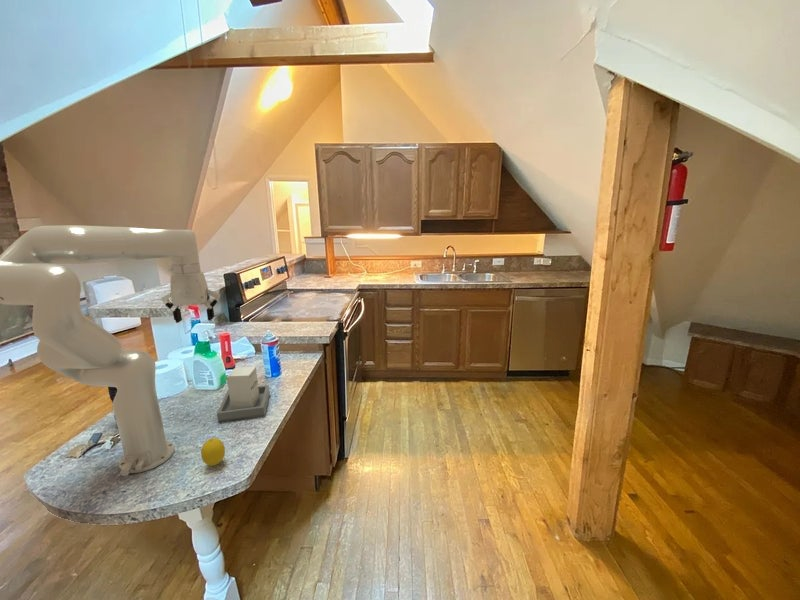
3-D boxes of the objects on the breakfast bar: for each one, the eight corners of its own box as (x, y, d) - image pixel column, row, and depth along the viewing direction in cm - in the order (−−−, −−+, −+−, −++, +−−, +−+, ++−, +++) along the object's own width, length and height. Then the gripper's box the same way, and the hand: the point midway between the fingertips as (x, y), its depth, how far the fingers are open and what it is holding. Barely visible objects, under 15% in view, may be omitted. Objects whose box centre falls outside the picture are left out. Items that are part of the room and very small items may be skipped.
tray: (264, 416, 118) (263, 407, 117) (218, 423, 115) (216, 413, 114) (269, 393, 133) (268, 384, 132) (229, 398, 130) (227, 389, 129)
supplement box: (253, 410, 120) (248, 375, 117) (230, 411, 120) (225, 376, 117) (260, 398, 127) (256, 366, 124) (239, 399, 127) (234, 366, 124)
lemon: (201, 474, 92) (196, 447, 90) (206, 460, 98) (201, 434, 96) (225, 469, 94) (220, 443, 92) (228, 456, 99) (224, 430, 97)
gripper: (151, 272, 109) (161, 326, 113) (212, 269, 112) (219, 322, 116) (162, 268, 116) (171, 319, 120) (219, 266, 119) (226, 315, 123)
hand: (195, 320), depth 118 cm, fingers open, 9 cm apart
